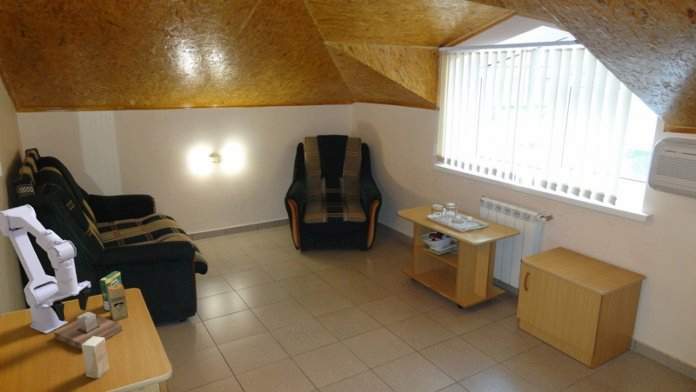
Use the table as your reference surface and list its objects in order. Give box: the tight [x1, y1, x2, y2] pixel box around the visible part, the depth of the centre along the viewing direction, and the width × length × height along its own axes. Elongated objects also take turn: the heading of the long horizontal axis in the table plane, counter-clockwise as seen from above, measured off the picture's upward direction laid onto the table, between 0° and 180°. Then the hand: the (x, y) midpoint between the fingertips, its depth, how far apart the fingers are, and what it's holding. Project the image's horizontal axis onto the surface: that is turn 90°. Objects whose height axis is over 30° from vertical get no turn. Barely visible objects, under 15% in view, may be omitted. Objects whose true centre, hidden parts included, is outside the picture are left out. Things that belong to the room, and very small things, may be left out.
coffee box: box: [99, 270, 123, 312], centre depth 183 cm, size 8×3×13 cm, turn 163°
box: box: [81, 336, 110, 379], centre depth 145 cm, size 5×4×11 cm
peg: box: [76, 311, 98, 334], centre depth 165 cm, size 4×4×7 cm
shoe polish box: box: [107, 283, 129, 322], centre depth 176 cm, size 5×5×12 cm
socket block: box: [53, 314, 123, 351], centre depth 166 cm, size 16×14×2 cm
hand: (72, 314), depth 161 cm, fingers open, 7 cm apart
